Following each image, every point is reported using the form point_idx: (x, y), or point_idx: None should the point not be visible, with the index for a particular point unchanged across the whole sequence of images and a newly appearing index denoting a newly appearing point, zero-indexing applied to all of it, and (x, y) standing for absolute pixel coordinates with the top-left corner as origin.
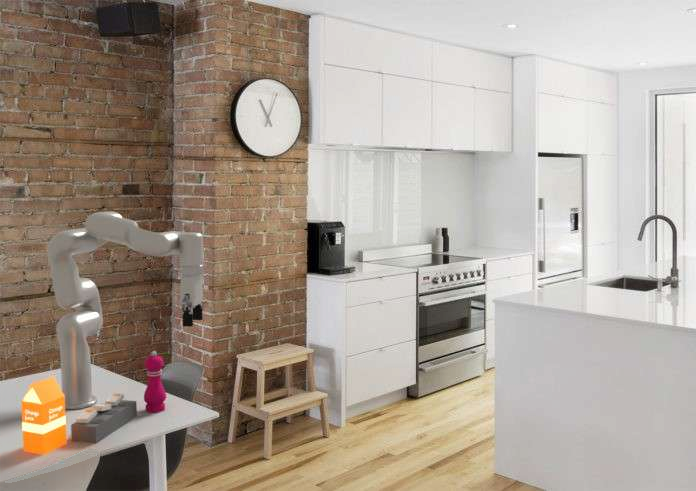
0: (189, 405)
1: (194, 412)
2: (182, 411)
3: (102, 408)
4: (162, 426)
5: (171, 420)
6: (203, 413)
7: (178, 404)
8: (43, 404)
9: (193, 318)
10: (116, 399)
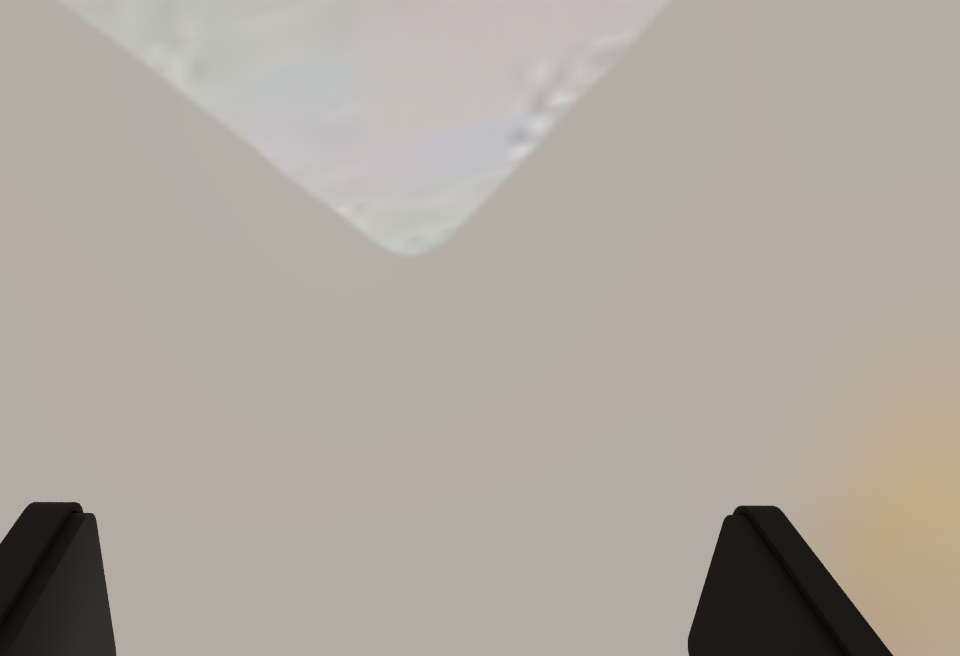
0: (553, 87)
1: (421, 152)
2: (437, 69)
3: None
4: (140, 6)
5: (261, 39)
6: (406, 211)
7: (576, 3)
8: None
9: (739, 536)
10: None
